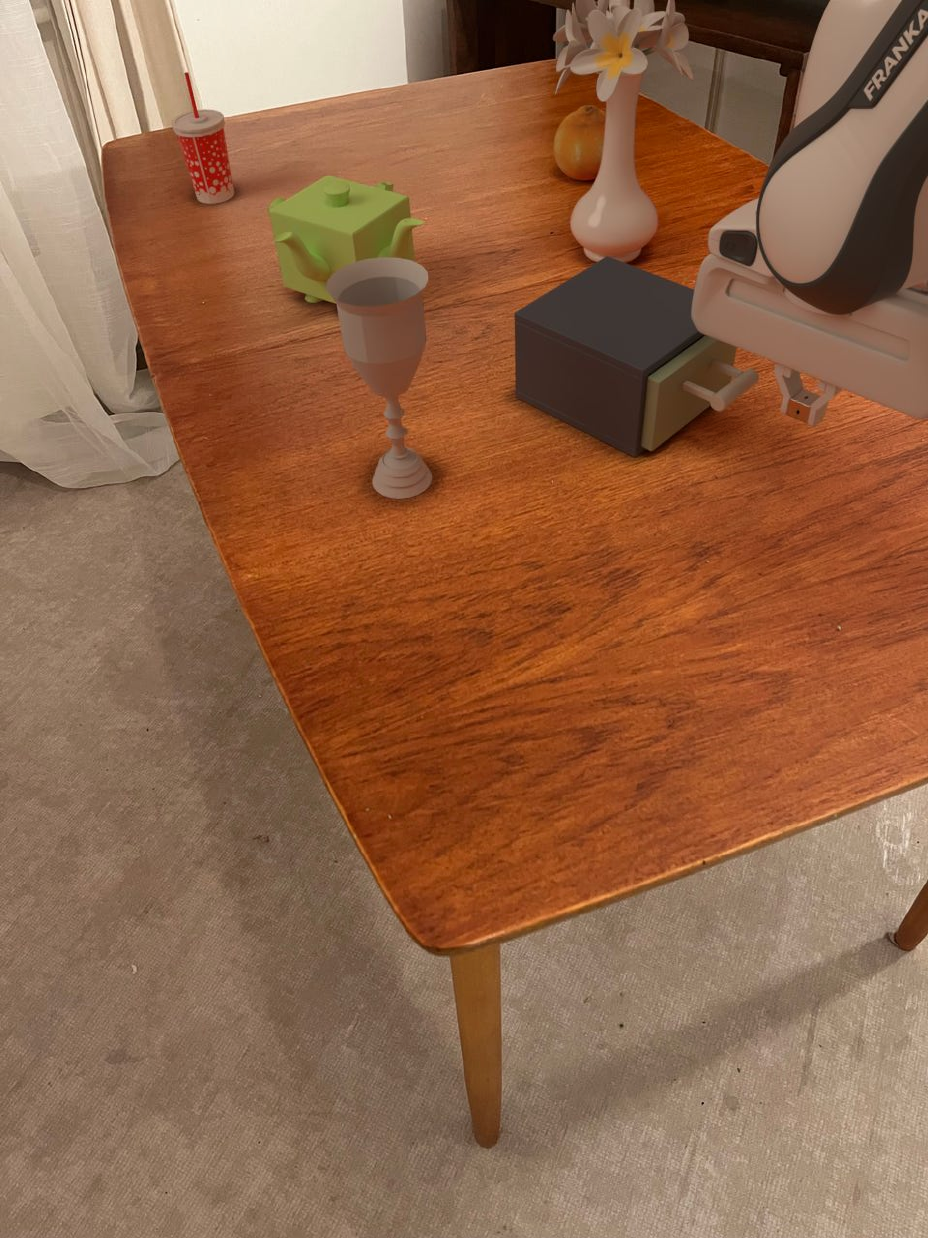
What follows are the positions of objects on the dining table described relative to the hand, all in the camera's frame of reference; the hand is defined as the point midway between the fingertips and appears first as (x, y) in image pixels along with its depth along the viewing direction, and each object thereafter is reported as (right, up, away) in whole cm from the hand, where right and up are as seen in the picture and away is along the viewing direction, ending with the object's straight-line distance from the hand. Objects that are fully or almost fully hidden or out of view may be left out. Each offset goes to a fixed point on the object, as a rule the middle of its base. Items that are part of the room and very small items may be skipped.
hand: (801, 416), depth 77 cm
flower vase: (-11, +25, +31) cm, 41 cm away
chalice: (-32, -4, +6) cm, 32 cm away
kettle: (-38, +18, +27) cm, 50 cm away
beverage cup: (-57, +37, +45) cm, 81 cm away
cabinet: (-12, +5, +13) cm, 18 cm away
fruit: (-11, +39, +44) cm, 60 cm away
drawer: (-10, +3, +10) cm, 14 cm away
